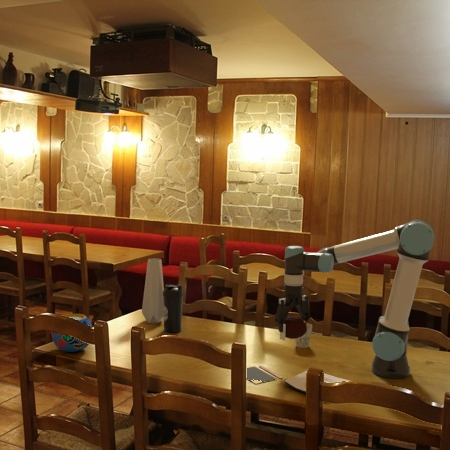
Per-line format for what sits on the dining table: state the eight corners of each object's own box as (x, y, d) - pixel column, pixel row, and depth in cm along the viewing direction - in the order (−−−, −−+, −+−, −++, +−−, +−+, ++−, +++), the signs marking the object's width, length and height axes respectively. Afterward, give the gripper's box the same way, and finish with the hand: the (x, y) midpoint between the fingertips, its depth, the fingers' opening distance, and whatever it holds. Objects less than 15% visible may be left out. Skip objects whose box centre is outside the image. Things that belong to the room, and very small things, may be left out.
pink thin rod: (282, 378, 223) (282, 377, 223) (280, 378, 223) (280, 378, 223) (261, 366, 236) (261, 365, 236) (258, 366, 235) (258, 365, 235)
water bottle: (160, 328, 285) (161, 283, 283) (180, 327, 288) (181, 282, 286) (164, 334, 276) (165, 287, 273) (184, 332, 279) (185, 286, 276)
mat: (276, 379, 222) (276, 378, 222) (255, 384, 217) (255, 383, 216) (254, 367, 234) (254, 366, 234) (234, 371, 229) (234, 370, 229)
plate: (355, 387, 217) (355, 381, 216) (326, 403, 202) (326, 396, 201) (310, 373, 230) (310, 367, 230) (280, 387, 215) (280, 380, 215)
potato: (281, 333, 240) (282, 312, 239) (309, 337, 235) (309, 315, 234) (275, 339, 232) (275, 317, 231) (303, 343, 227) (304, 320, 226)
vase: (156, 317, 306) (157, 256, 302) (169, 322, 297) (170, 259, 293) (137, 320, 298) (137, 258, 294) (149, 325, 289) (150, 262, 285)
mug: (311, 343, 267) (311, 323, 266) (312, 352, 255) (313, 330, 254) (293, 342, 268) (294, 322, 267) (293, 351, 256) (294, 329, 254)
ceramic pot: (60, 360, 237) (60, 325, 235) (46, 348, 251) (45, 315, 250) (99, 352, 247) (99, 319, 246) (83, 341, 262) (83, 309, 260)
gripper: (308, 279, 240) (307, 331, 243) (265, 285, 229) (265, 339, 231) (320, 283, 234) (319, 335, 236) (277, 288, 222) (276, 344, 225)
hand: (292, 337), depth 234 cm, fingers closed on potato, 9 cm apart
